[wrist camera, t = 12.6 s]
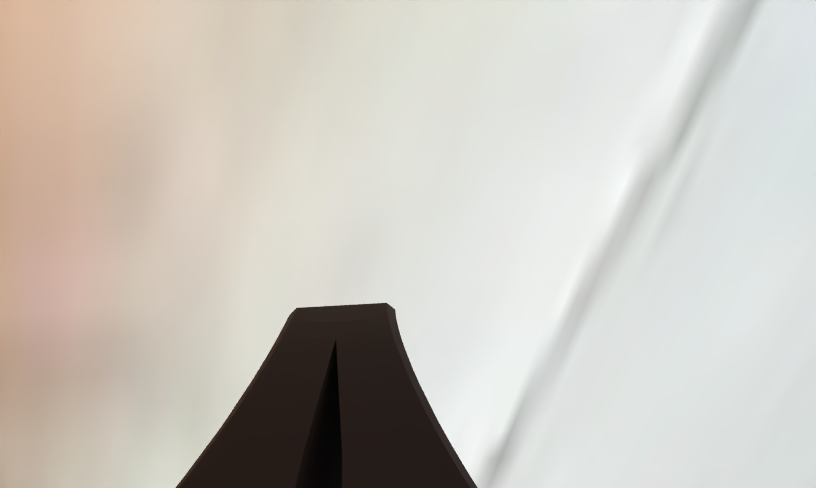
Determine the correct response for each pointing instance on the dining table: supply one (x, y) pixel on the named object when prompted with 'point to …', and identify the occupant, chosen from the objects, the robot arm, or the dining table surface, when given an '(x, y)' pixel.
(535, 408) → the dining table surface
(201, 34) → the dining table surface
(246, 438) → the robot arm
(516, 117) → the dining table surface
